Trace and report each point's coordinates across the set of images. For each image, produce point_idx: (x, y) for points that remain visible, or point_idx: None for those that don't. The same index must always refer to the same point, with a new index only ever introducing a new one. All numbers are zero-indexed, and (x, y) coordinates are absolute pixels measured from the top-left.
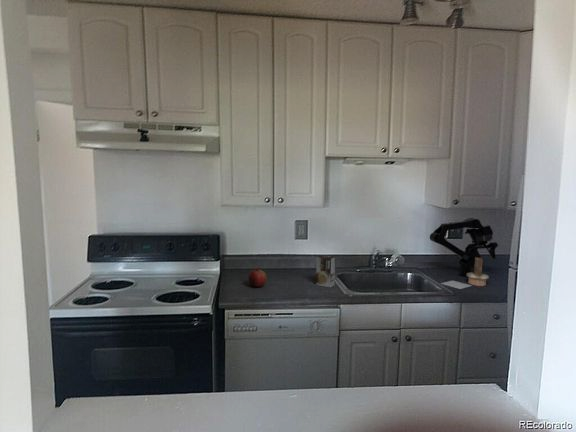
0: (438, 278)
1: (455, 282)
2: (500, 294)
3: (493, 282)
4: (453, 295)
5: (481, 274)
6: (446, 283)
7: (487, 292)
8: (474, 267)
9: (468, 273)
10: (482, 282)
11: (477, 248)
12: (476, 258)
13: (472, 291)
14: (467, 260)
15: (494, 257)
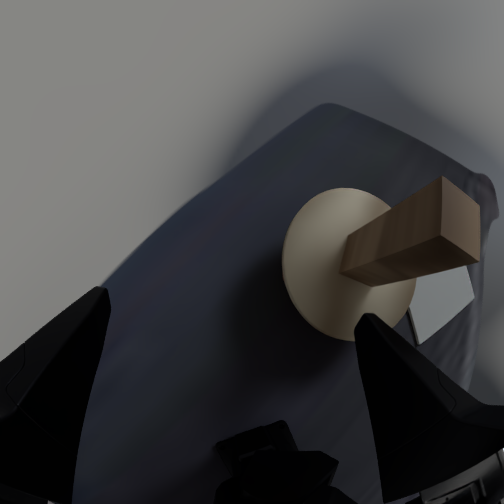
0: None
1: (426, 306)
2: (322, 111)
3: (186, 282)
4: (470, 172)
5: (317, 273)
6: (460, 294)
7: (362, 145)
8: (406, 279)
9: (392, 315)
10: None
11: (496, 426)
12: (478, 226)
13: (413, 177)
14: (329, 489)
15: (103, 299)
